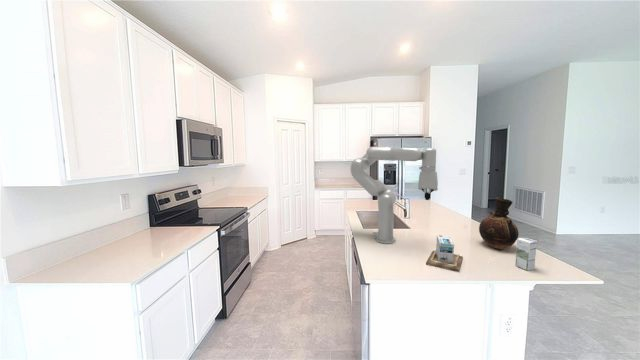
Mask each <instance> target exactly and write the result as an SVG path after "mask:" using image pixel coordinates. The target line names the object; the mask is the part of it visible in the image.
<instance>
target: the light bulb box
mask: <svg viewBox="0 0 640 360" xmlns="http://www.w3.org/2000/svg"><path fill="white" fill-rule="evenodd" d="M435 248H436V249H435V250H436V254H437V257H438V260H439V262H443V263H451V264H453V254H455V243H454V242H453V240H452V238H451V236H450V235H443V234H441V235H440V234H436V246H435Z"/></svg>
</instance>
